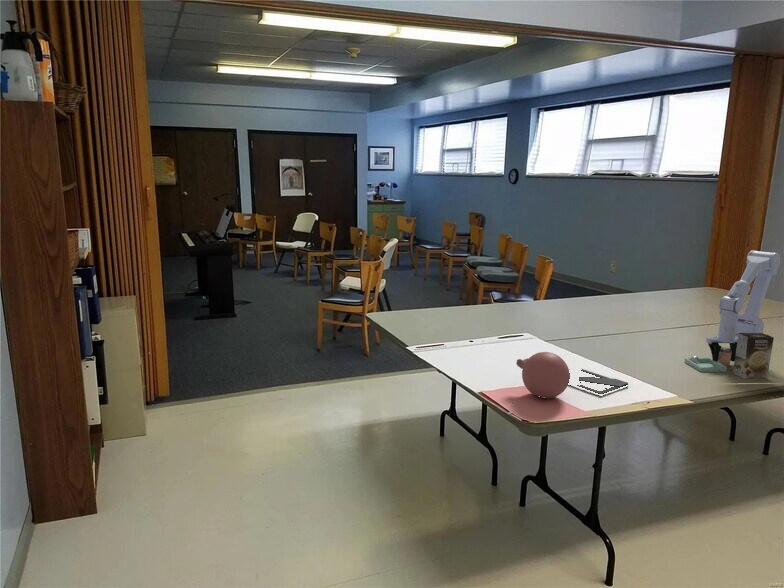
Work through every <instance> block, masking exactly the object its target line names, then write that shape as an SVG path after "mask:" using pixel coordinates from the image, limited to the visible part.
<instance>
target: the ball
mask: <svg viewBox="0 0 784 588" xmlns="http://www.w3.org/2000/svg"><path fill="white" fill-rule="evenodd" d="M689 358H690V361H692V362H694V363H696V364H698V363H699V358H700V357H699V356H696V355H693V356H691V357H689Z"/></svg>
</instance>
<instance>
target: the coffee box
mask: <svg viewBox="0 0 784 588" xmlns="http://www.w3.org/2000/svg"><path fill="white" fill-rule="evenodd" d="M774 339H775V337H774V336H771V335H768V334H766V333H764V332H763V333H739V336H738V342H737V349H736V356H735V361H734V363H733V369H732V374H734V375H736V376H738V377H739V378H742V379H768V376H769V369H770V364H771V357H772V352H773V351H772V350H773V345H774Z"/></svg>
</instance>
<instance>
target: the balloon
mask: <svg viewBox="0 0 784 588" xmlns="http://www.w3.org/2000/svg"><path fill="white" fill-rule="evenodd" d="M515 364H516V366H517V367H518V368H520V369H521V377H522V382H523V385H524V386H525V388H526V389H527V390H528V392H529V393H531V394H532V395H533V394H534V395H533V396H535V395H536V396H535V397H537V396H540V397H545V398H544V399H552V397H553V398H556V397H559V396H560V395H561V394H562V393H563V392H564V391H565V390H566V389H567V388H568V386H569V385H568V383H569V379H570V373H569V370H570V369H569V366H568V364H567V363H566V361H565V360H564V359H563V358H562V357H561V356H559V355H558V354H556V353H554V352H549V351H539V352H536V353H535V354H532V355H531V356H530V357H527V358H525V359H521V358H519V359H517V360H516V363H515ZM540 397H539V398H540Z"/></svg>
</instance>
